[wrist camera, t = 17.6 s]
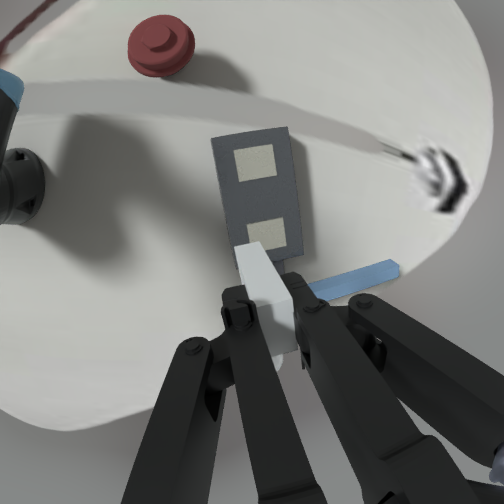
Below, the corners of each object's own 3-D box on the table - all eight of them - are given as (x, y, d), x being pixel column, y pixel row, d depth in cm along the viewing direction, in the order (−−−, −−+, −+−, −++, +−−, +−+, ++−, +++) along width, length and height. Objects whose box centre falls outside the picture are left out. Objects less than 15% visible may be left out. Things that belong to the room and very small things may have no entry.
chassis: (233, 258, 53) (236, 270, 48) (210, 139, 44) (211, 138, 39) (295, 245, 54) (304, 255, 49) (279, 128, 45) (288, 126, 40)
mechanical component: (152, 32, 35) (205, 44, 38) (130, 80, 38) (183, 92, 41) (139, 2, 24) (205, 14, 26) (108, 61, 26) (176, 75, 29)
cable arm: (269, 312, 48) (273, 321, 45) (264, 290, 46) (268, 299, 43) (389, 274, 49) (398, 281, 47) (390, 254, 48) (399, 260, 45)
